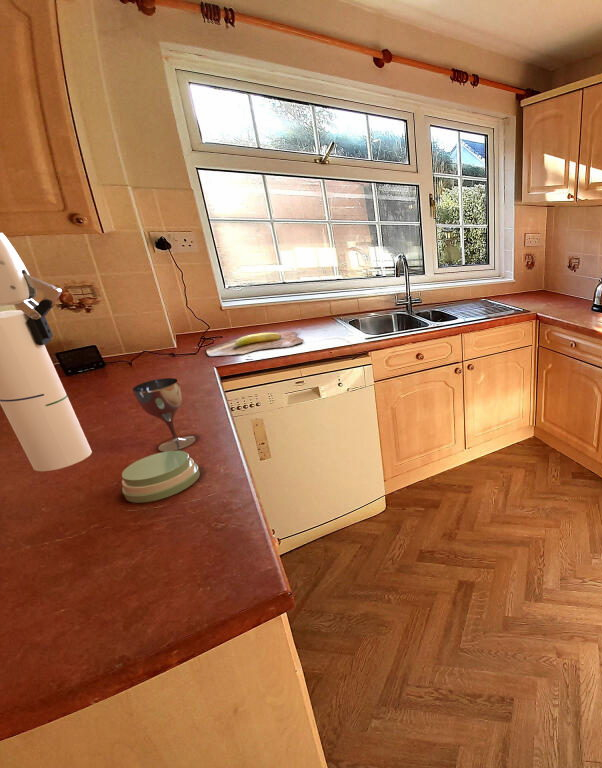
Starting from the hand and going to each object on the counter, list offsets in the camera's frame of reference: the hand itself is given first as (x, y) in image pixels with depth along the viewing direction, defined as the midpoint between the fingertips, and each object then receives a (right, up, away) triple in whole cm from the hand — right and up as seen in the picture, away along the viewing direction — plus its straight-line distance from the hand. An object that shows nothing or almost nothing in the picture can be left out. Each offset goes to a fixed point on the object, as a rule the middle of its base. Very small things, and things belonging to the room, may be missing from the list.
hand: (9, 346), depth 65 cm
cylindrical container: (0, -19, +8) cm, 20 cm away
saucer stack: (+7, -26, +20) cm, 33 cm away
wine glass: (-2, -20, +35) cm, 40 cm away
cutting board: (-29, +10, +110) cm, 115 cm away
